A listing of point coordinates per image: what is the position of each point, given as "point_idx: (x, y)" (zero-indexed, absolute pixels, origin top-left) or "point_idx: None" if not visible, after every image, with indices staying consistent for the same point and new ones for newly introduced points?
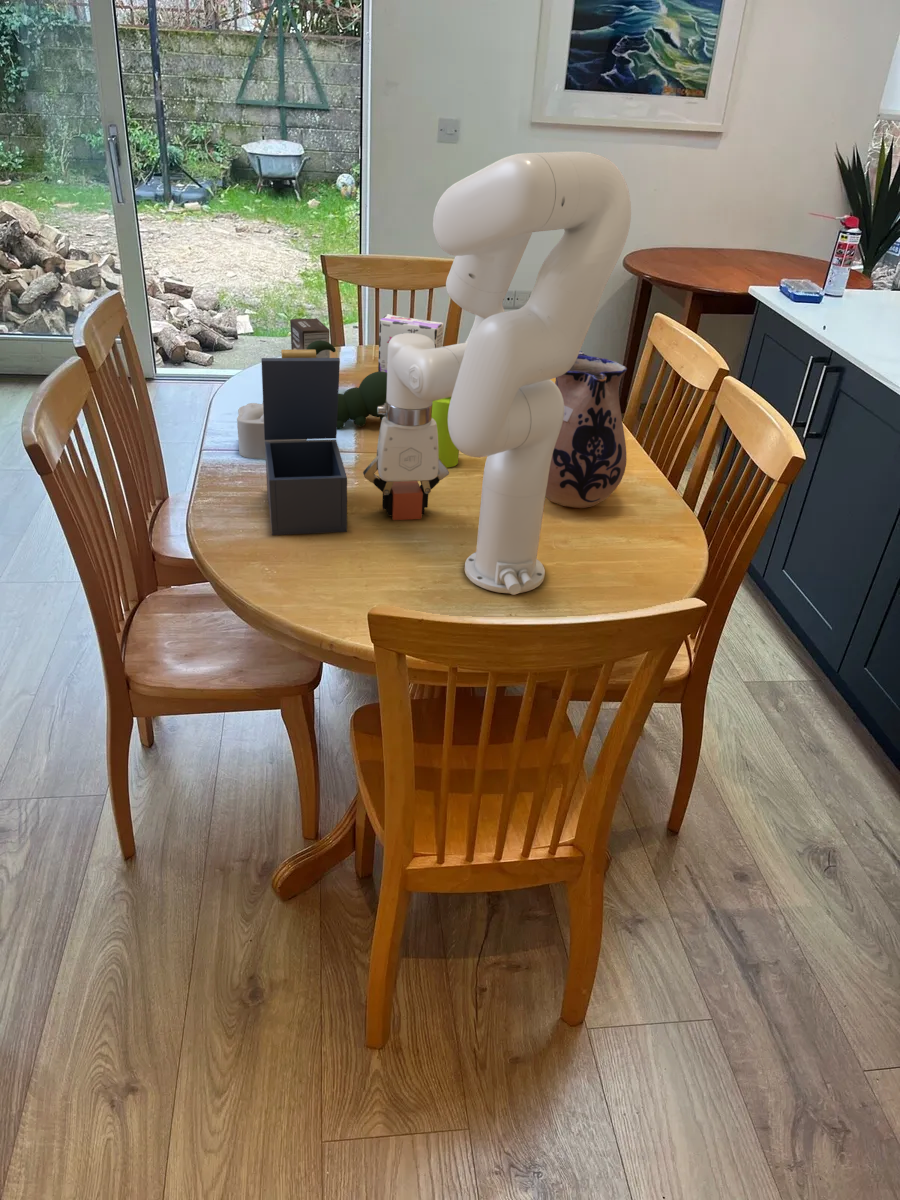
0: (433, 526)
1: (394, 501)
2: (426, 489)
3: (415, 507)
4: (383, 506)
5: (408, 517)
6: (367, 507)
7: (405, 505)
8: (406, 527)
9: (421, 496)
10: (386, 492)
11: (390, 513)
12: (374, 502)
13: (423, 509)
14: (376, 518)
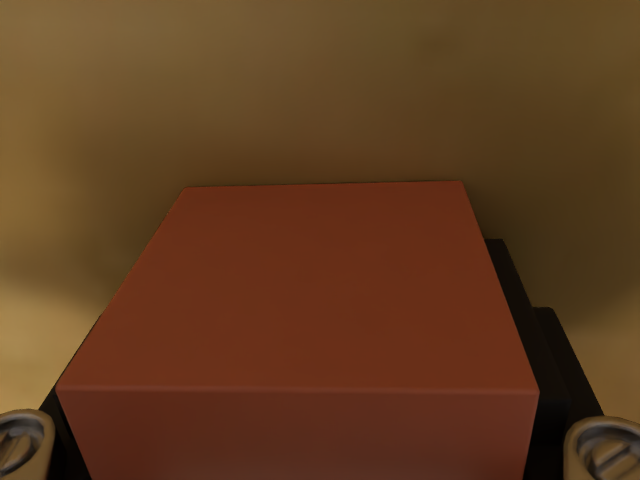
0: (57, 25)
1: (495, 304)
2: (8, 463)
3: (217, 251)
4: (554, 332)
5: (307, 191)
6: (615, 397)
7: (337, 264)
8: (350, 16)
9: (96, 345)
10: (617, 454)
11: None
12: None
13: None
14: (611, 225)
